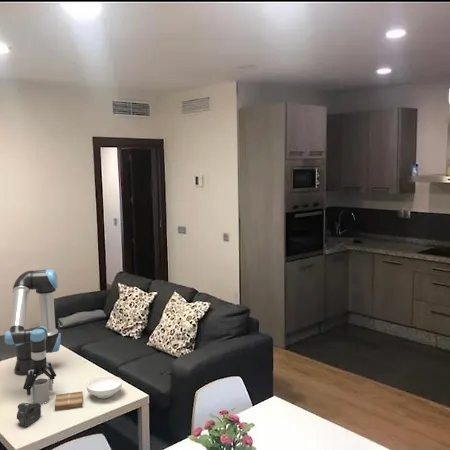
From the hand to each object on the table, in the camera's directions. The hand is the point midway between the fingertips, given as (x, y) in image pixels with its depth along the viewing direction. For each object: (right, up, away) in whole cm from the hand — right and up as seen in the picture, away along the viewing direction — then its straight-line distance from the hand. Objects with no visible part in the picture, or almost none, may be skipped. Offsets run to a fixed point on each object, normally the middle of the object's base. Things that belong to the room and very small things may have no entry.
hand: (40, 395), depth 265 cm
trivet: (+17, -3, -4) cm, 18 cm away
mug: (0, -3, +1) cm, 3 cm away
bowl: (+34, -2, +5) cm, 34 cm away
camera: (+2, -5, -23) cm, 23 cm away
